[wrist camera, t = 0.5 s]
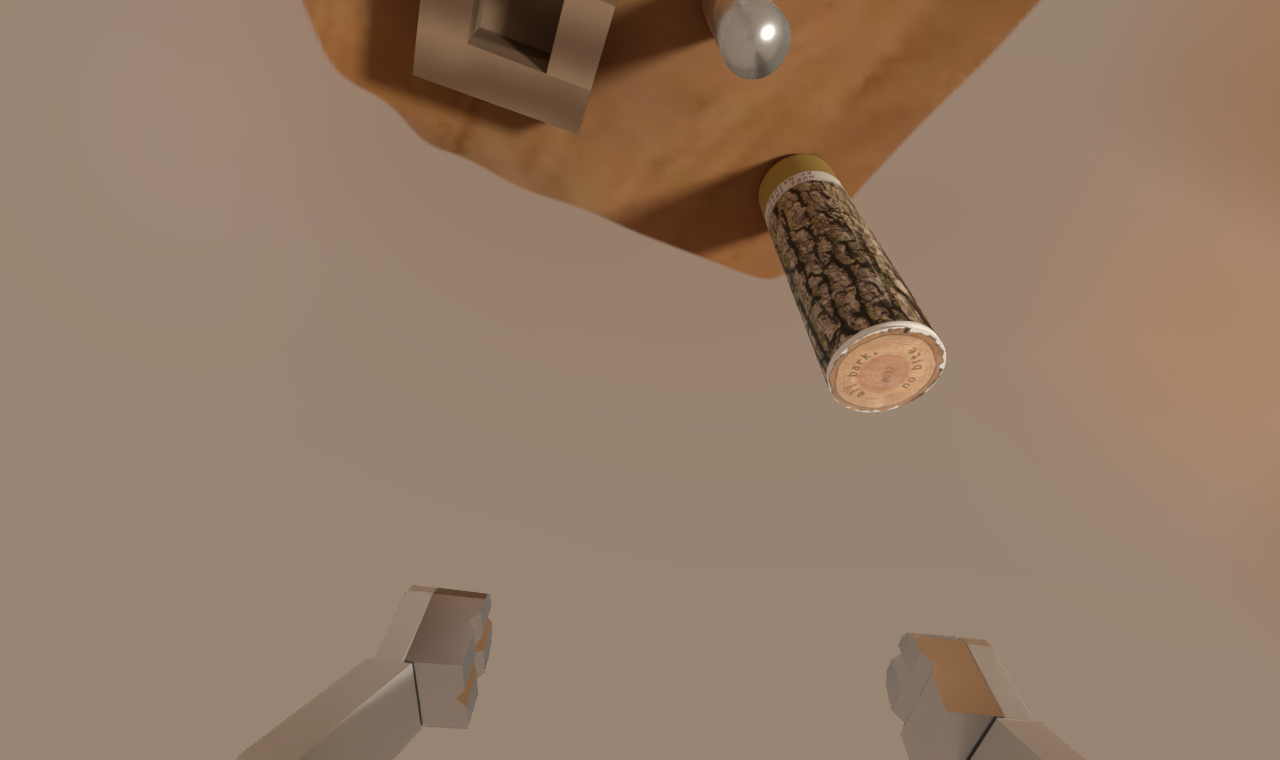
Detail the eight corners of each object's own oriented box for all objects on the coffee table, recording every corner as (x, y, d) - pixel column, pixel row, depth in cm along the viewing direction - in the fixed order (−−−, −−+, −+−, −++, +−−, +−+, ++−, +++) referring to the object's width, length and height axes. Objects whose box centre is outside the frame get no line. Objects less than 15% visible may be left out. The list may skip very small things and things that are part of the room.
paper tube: (750, 221, 56) (815, 411, 37) (765, 148, 51) (846, 324, 33) (821, 224, 56) (920, 413, 38) (842, 152, 52) (966, 327, 33)
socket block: (454, -142, 38) (435, -139, 34) (631, -61, 41) (632, -50, 37) (430, 53, 46) (412, 74, 42) (581, 109, 49) (577, 134, 45)
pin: (715, -42, 42) (741, -9, 33) (765, -18, 43) (803, 19, 34) (692, 19, 45) (711, 65, 36) (740, 40, 46) (769, 89, 37)
